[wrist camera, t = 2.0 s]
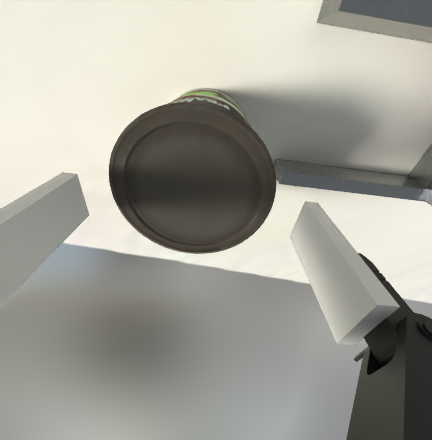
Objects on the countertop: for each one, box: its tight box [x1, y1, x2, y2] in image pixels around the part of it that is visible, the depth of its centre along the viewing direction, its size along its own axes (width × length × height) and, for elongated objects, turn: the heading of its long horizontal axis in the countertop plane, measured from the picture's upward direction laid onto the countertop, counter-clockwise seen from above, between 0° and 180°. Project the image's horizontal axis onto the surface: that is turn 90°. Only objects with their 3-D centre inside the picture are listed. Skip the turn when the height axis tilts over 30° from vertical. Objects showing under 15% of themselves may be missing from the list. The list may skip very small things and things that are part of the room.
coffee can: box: [109, 88, 276, 254], centre depth 18 cm, size 10×10×14 cm
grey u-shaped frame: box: [274, 0, 432, 205], centre depth 20 cm, size 16×20×5 cm
